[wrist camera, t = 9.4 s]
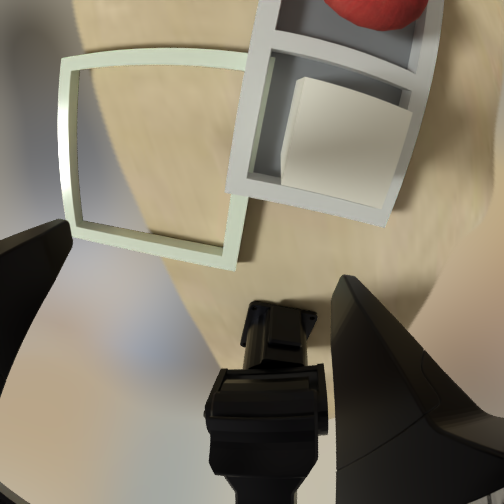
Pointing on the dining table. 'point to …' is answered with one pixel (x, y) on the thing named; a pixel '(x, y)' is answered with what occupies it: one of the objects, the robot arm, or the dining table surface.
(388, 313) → the robot arm
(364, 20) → the onion
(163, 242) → the pale green square frame
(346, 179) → the cream block
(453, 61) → the dining table surface
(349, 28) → the grey divided tray
